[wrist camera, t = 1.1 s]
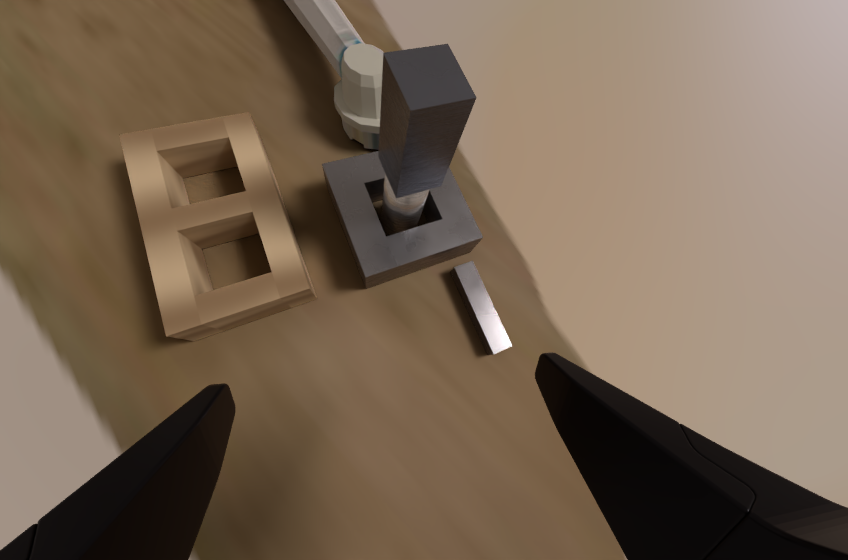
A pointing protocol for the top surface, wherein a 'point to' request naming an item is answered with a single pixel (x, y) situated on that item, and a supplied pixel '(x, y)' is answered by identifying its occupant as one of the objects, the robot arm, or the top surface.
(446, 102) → the tall grey square pillar
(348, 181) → the socket
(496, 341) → the bar
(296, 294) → the rack
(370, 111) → the white bulb-headed handheld tool
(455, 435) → the top surface
